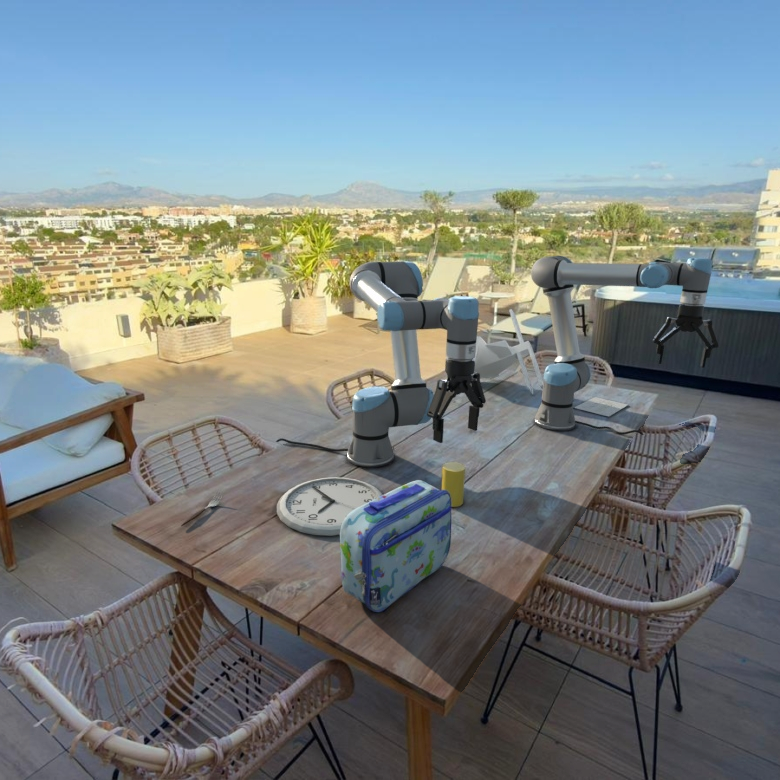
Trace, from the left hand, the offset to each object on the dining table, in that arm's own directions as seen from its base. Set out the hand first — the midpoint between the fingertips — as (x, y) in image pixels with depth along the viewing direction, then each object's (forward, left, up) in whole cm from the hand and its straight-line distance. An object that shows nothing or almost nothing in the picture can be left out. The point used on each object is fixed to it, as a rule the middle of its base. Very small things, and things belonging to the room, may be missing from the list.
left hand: (455, 435), depth 140 cm
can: (0, 0, -20) cm, 20 cm away
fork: (-60, -31, -20) cm, 70 cm away
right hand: (+62, +76, +8) cm, 98 cm away
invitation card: (+40, +104, -20) cm, 114 cm away
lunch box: (-2, -39, -20) cm, 44 cm away
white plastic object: (-7, +115, -20) cm, 116 cm away
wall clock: (-30, -15, -20) cm, 39 cm away
